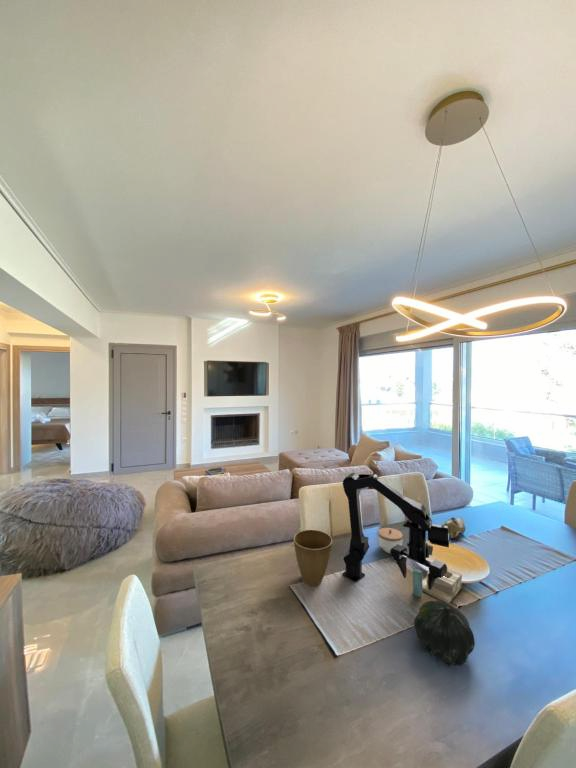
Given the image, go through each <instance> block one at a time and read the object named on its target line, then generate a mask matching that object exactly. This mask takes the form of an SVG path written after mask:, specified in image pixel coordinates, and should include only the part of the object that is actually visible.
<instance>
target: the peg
mask: <svg viewBox="0 0 576 768" xmlns="http://www.w3.org/2000/svg"><path fill="white" fill-rule="evenodd" d="M422 581H423V571H422V570H420V569H418V568H414V569H413V570H412V594H413V596H415V597H417V598H420V597H423V591H422Z"/></svg>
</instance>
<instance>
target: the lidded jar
mask: <svg viewBox="0 0 576 768" xmlns="http://www.w3.org/2000/svg"><path fill="white" fill-rule="evenodd" d="M377 535H378V538H377V539H378V544H379V546H380V547H381V549H382V550H383V551H384V552H385V553H388V554H390V550H391V548H393V547H394V546H396V545H397V544H399V545H401V546H403V538H404V535H403V533H402V532H401V531H400V530H398V529H396V528H391V527H383V528H380V529H378V531H377Z"/></svg>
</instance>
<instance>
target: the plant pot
mask: <svg viewBox="0 0 576 768" xmlns="http://www.w3.org/2000/svg"><path fill="white" fill-rule="evenodd" d="M293 544H294V551H295V557H296V561H297V566H298V568H299V572H300V575H301V578H302V580H303V583H305V584H306V585H308V586H318V585H320V584H321V583H322V581H323V579H324V576H325V574H326V570H327V568H328V564H329V560H330V555H331V552H332V547H333V539H332V536H330V534H329V533H328V532H327V533H326V532H324V531H322V530H318V529H305V530H301V531H299V532H298V531H297V533H295V535H294V537H293Z"/></svg>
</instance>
